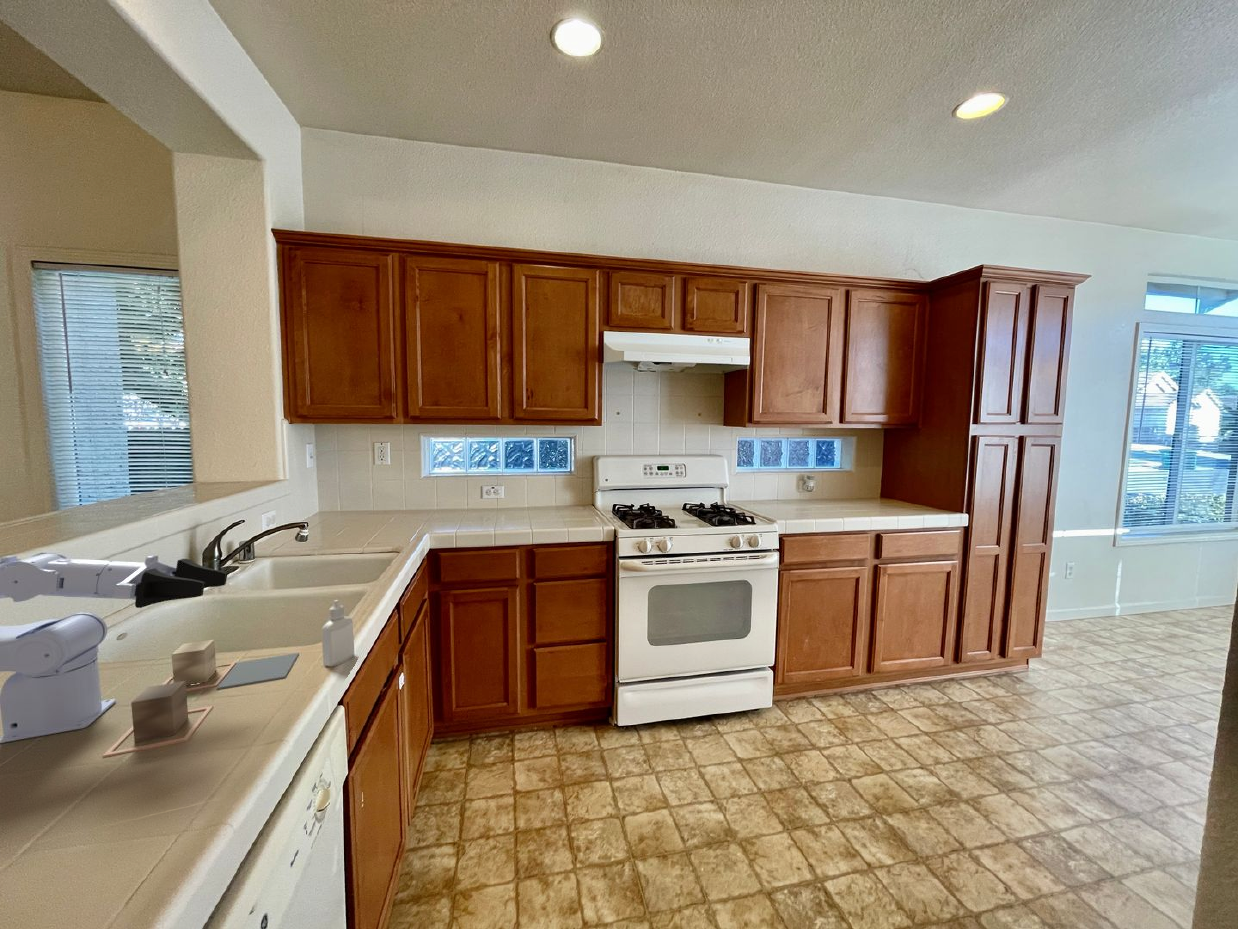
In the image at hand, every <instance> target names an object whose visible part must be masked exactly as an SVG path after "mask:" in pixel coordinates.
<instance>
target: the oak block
mask: <svg viewBox="0 0 1238 929" xmlns="http://www.w3.org/2000/svg"><path fill="white" fill-rule="evenodd" d="M215 646H216V645H215V639H208V640H201V641H194V642H186V643H182V645H181V646H179V647H178V648H177V649H176V650H174V652H172V654H171V663H172V674H173V679H172V680H173V683H177V682H183V681H186V686H187V685H191V684H197V683H201V684H203V683H202V682H205V683H207V682H208V681H209V680H210V679H211V677H212V676H213V675H214V674H215V673H216V672H217V667H216V665H217V662H216V648H215ZM215 671H216V672H215ZM209 678H210V679H209Z"/></svg>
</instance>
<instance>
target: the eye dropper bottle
mask: <svg viewBox="0 0 1238 929" xmlns="http://www.w3.org/2000/svg"><path fill="white" fill-rule="evenodd" d="M328 612H329V620H327V622H326V623H325V624H323V626H322V628H321V643H322V648H321V649H322V662H323V663H322V664H323V666H325V667H331V668H333V667H336V666H339V665H342V664H345V662H347V661H349V660H350V659H352V658H353V657H354V655H355V642H354V641H355V639H354V638H355V637H354V625H353V624H354V620H353V619H352V618H351V617H350V616H345V606H344V605H342V604H340V602H339V599H335V600H334V601H333V605H332V606H331V607H330V608H329V611H328Z"/></svg>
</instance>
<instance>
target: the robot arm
mask: <svg viewBox="0 0 1238 929" xmlns="http://www.w3.org/2000/svg"><path fill="white" fill-rule="evenodd" d="M144 561H145V562H143V561H127V560H126V561H123V560H109V559H108V560H107V559H88V558H68V557H67V556H65V555H63V554H59V553H56V552H45V551H42V552H40V553H36V554H34V555H32V556H29V557H27V558H23V559H21V558H17V555H7V556H3V557H0V599H7V598H8V599H9V598H10V599H11V600H12V601H13V602H14V603H20V602H21V603H22V602H25V601H28V600H31V599H34V598H35V597H38V596H40V595H42V596H44V597H45V596H47V597H65V598H87V599H88V598H89V599H91V598H95V599H114V600H115V599H119V600H132V601H133V600H134V605H135V606H134V607H135V608H137V609H142V608H144V607H148V606H151V605H154V604H158V603H163V602H169V601H175V600H177V601H178V600H182V599H183V600H185V599H191V598H198V597H202V596H203V595H204V590H205V588H216V587H224V586H225V585H226V584H227V580H228V572H225V571H222V570H218V569H214V568H210V567H207V566H203V565H201V564H198V563H196V562H194V560H191V559H189V558H181V559H178V560H177V563H176V566H170V565H168V564H164V563H161V562H160V561H159V556H158V555H155V554H152V555H148V556H146V557H145V560H144ZM107 626H108V625H107V623H106V622H105V620H104V619H103V618H102V617H101V616H99V615H97V614H96V613H92V612H91V613H90V612H76V613H73V614H70V615H68V616H66V617H63V618H54V619H53V618H49V619H44V620H40V621H36V622H35V621H34V622H31V623H27V624H21V625H0V672H12V673H13V672H14V673H13V674H12V675H10V676H9V677H8V678H6V680H5V682H4V683H3V685H2V688H1V690H0V714H1V715H0V716H1V725H2V726H1V727H2V737H1V738H0V744H2V743H7V742H13V741H18V740H19V741H20V740H25V739H31V738H37V737H41V736H47V735H53V734H58V733H63V732H70V731H75V730H81V729H85V728H87V727H88V726H89V725H91V724H92V723H93V722H94V721H96V719H97V718H99V717H100V716H101V715H103V713H104V712H106V711H107V710H108V709H109V708H110V707H112V705H114V704H116V702H117V700H116V698H112V699H105V700H102V693H101V692H102V691H101V681H100V680H101V678H100V671H99V670H100V669H99V658H98V653H99V645H100V644H102V643H103V642H104V640H105V639H106V636H107V634H108V627H107Z"/></svg>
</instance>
